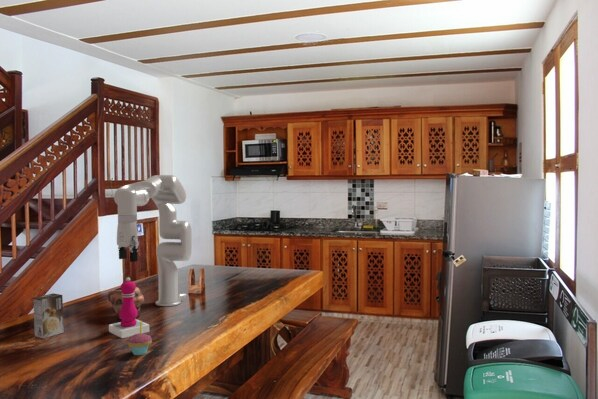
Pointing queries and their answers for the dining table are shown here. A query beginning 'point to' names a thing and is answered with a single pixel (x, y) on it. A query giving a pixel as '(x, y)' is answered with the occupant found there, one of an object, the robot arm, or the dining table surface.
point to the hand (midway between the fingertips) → (128, 260)
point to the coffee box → (48, 315)
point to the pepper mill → (128, 304)
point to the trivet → (128, 329)
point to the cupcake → (139, 342)
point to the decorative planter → (118, 300)
